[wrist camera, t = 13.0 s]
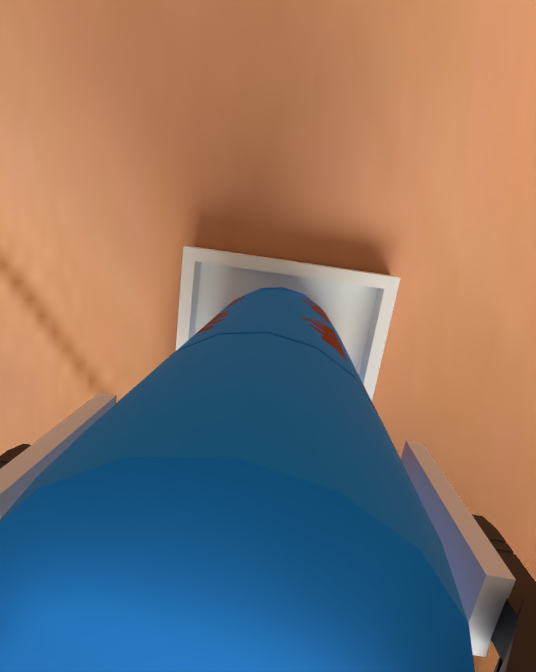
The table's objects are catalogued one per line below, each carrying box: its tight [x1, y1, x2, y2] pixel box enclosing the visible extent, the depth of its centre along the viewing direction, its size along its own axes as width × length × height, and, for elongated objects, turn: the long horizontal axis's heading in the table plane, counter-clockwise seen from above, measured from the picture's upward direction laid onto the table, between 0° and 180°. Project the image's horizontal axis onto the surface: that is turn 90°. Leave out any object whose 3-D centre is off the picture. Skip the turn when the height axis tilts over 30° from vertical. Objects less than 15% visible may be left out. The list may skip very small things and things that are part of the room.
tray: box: [176, 246, 400, 401], centre depth 31 cm, size 17×15×3 cm
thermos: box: [0, 287, 475, 672], centre depth 19 cm, size 11×11×25 cm
